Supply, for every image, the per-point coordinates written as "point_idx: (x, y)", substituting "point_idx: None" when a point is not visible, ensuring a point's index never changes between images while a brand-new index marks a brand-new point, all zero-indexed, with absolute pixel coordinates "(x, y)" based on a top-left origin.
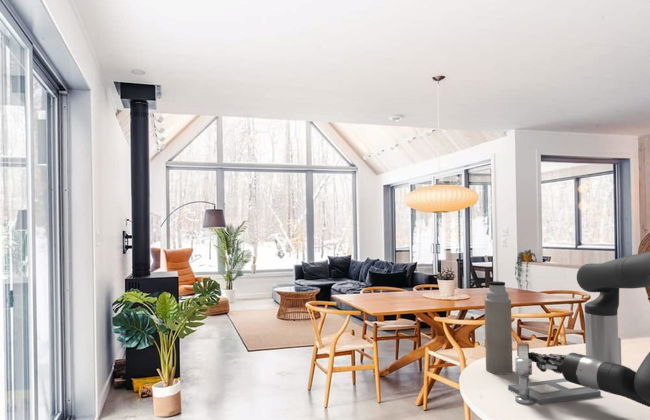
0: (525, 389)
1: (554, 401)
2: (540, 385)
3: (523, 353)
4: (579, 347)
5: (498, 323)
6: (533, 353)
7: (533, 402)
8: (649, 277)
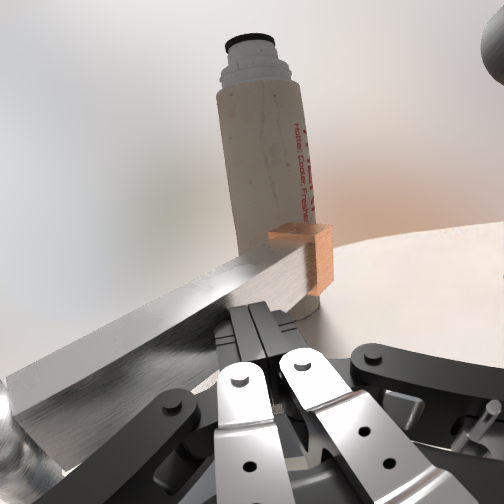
0: None
1: None
2: (289, 462)
3: (138, 326)
4: (485, 229)
5: (241, 159)
6: (244, 322)
7: None
8: None
